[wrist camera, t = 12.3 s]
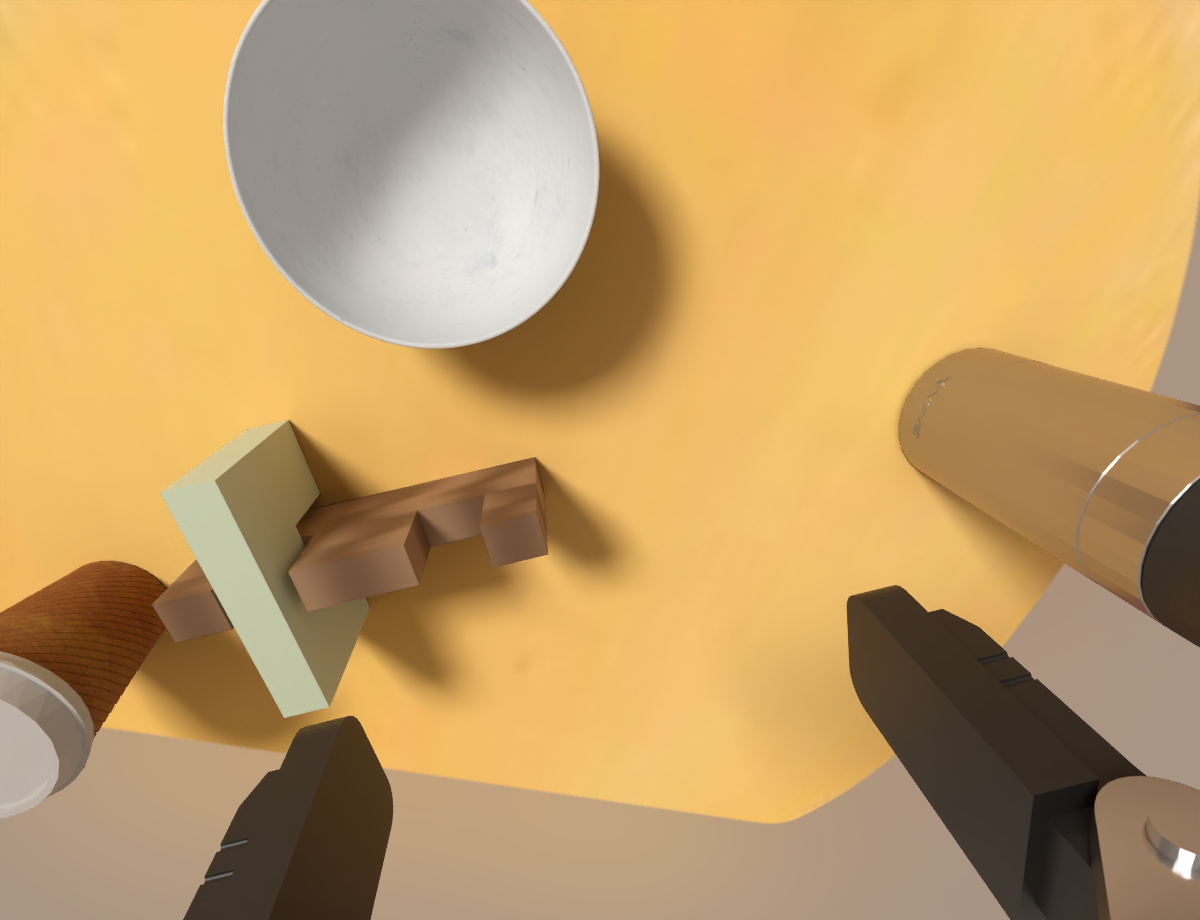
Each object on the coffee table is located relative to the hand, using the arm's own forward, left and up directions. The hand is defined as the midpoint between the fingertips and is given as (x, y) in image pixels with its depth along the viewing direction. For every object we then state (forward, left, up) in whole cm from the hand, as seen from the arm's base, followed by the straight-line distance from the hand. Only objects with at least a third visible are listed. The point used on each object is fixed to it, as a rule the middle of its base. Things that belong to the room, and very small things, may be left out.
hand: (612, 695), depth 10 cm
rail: (+7, +13, -28) cm, 32 cm away
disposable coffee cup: (+22, +24, -28) cm, 43 cm away
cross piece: (+11, +15, -28) cm, 34 cm away
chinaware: (+8, -7, -28) cm, 30 cm away
